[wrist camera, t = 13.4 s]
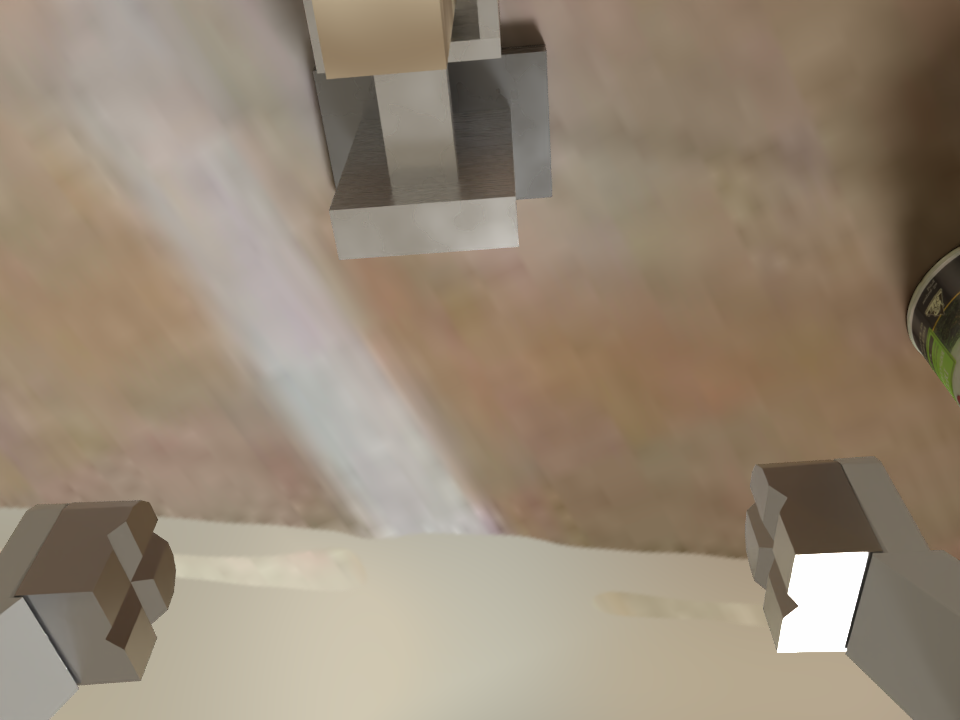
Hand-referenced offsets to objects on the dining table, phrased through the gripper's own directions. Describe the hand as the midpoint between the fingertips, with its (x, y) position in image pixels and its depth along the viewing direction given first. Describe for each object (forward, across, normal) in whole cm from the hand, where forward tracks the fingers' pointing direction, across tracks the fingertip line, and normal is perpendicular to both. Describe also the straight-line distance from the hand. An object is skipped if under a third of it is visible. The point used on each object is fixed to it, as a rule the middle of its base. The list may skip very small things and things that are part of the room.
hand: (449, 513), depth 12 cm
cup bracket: (+37, +3, +3) cm, 37 cm away
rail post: (+32, +3, -2) cm, 32 cm away
